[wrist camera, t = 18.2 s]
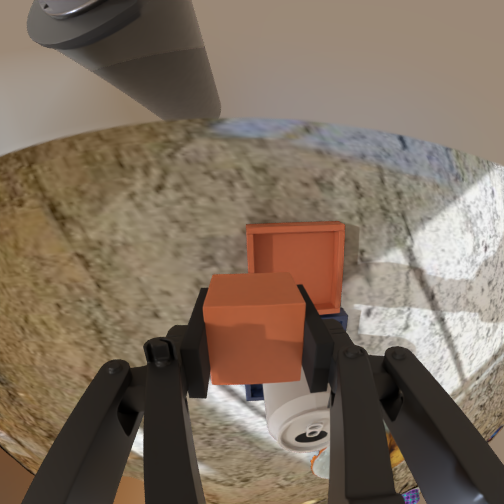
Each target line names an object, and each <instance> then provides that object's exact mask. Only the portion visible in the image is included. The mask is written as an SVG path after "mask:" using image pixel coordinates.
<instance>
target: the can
mask: <svg viewBox="0 0 504 504" xmlns="http://www.w3.org/2000/svg"><path fill="white" fill-rule="evenodd" d="M263 392H264V401H265V411H266V420H267V428H268V431H269V434H270V435H271V436H272V437H273V438H274V439H275V440H277V443H278V445H279V446H280V447H281V448H283V449H285V450H288V451H290V452H297V453H307V452H313V451H318V450H321V449H324V448H326V447H329V446H330V408H327V406H328V401H329V397H330V392H331V388H330V385H329V383H328V387H327V391H326V392H318V393H310V390H309V387H308V384H307V381H306V377H305V374H304V371H303V368H301V379H300V381H293V382H281V383H266V384H263Z"/></svg>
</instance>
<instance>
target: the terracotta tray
mask: <svg viewBox="0 0 504 504" xmlns="http://www.w3.org/2000/svg"><path fill="white" fill-rule="evenodd" d="M344 230H345V224H343V223H341V222H339V221H325V222H292V223H265V224H246V235H247V257H248V274H249V273H277V272H290V274H291V276H292V278H293V280H294V281H295V283H296V285H299V284H303V286H304V288H305V290H306V291H307V293H308V295H309V297H310V299H311V300H312V302H313V304H314V306H315V308H316V309H317V311H318V313H319V315H323V314H333V313H340V303H341V292H342V278H343V262H344V240H345V231H344Z"/></svg>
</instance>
